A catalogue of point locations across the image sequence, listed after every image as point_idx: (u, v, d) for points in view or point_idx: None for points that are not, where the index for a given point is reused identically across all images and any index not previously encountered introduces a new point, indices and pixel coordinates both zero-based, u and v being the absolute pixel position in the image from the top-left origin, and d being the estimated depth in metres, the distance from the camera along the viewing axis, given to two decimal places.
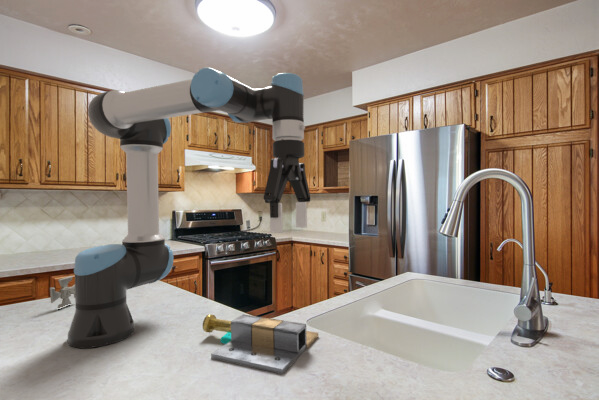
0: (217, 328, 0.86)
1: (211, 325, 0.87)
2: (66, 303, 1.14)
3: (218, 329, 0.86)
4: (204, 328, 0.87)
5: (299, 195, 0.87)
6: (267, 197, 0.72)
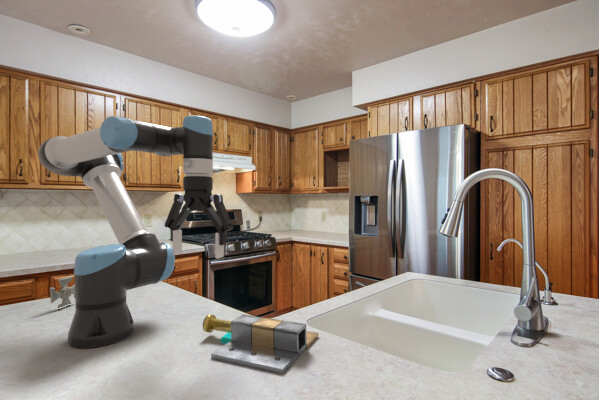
0: (217, 328, 0.86)
1: (211, 325, 0.87)
2: (66, 303, 1.14)
3: (218, 329, 0.86)
4: (204, 328, 0.87)
5: None
6: None
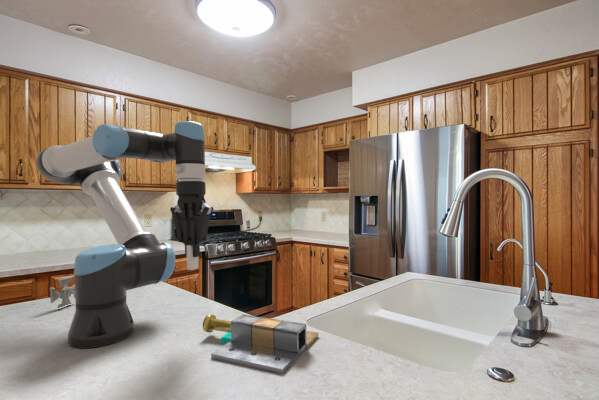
0: (217, 328, 0.86)
1: (211, 325, 0.87)
2: (66, 303, 1.14)
3: (218, 329, 0.86)
4: (204, 328, 0.87)
5: None
6: None
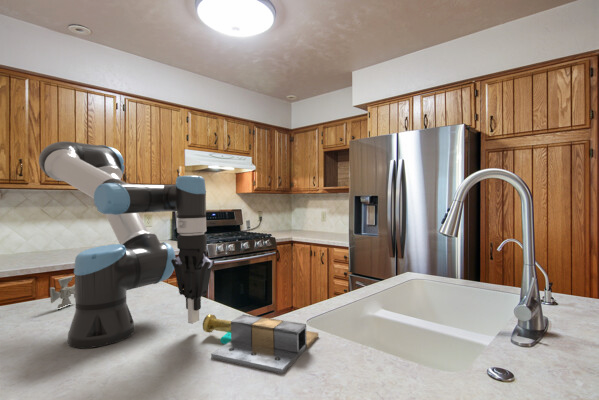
0: (217, 328, 0.86)
1: (211, 325, 0.87)
2: (66, 303, 1.14)
3: (218, 329, 0.86)
4: (204, 328, 0.87)
5: None
6: None
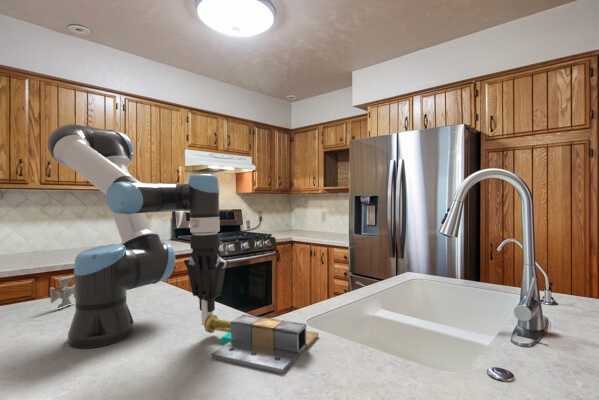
0: (219, 328, 0.86)
1: (213, 325, 0.87)
2: (66, 303, 1.14)
3: (220, 329, 0.86)
4: (206, 328, 0.87)
5: None
6: None
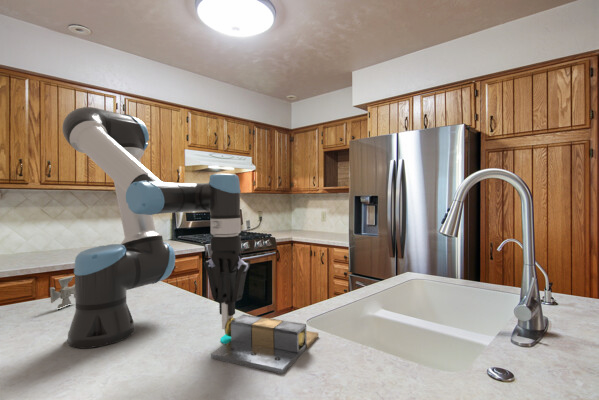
0: None
1: None
2: (66, 303, 1.14)
3: None
4: (226, 332, 0.84)
5: None
6: None
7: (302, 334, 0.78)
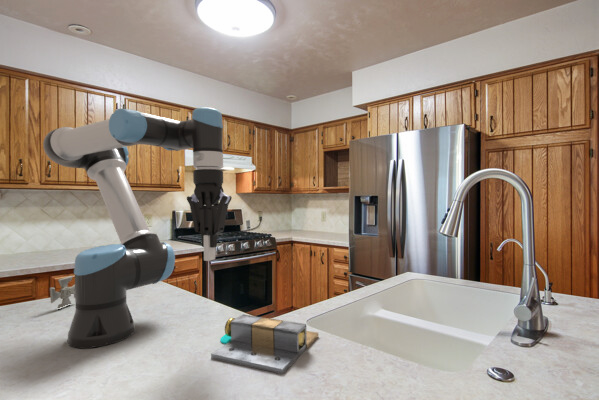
0: None
1: None
2: (66, 303, 1.14)
3: None
4: (226, 332, 0.84)
5: None
6: None
7: (302, 334, 0.78)
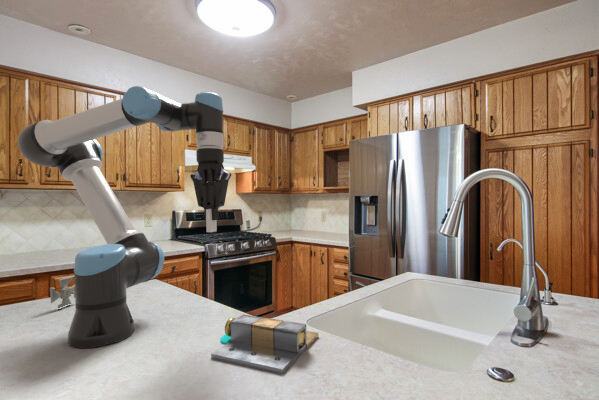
0: None
1: None
2: (66, 303, 1.14)
3: None
4: (226, 332, 0.84)
5: None
6: None
7: (302, 334, 0.78)
